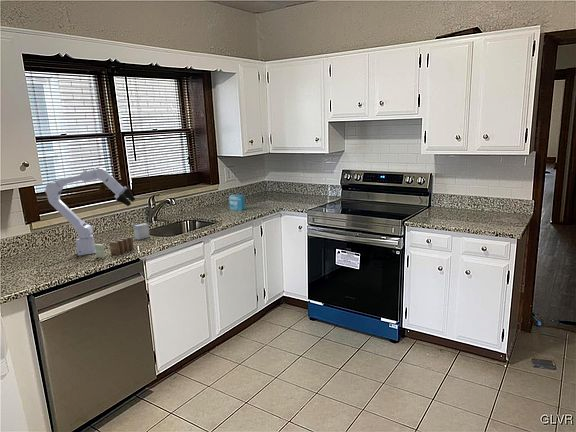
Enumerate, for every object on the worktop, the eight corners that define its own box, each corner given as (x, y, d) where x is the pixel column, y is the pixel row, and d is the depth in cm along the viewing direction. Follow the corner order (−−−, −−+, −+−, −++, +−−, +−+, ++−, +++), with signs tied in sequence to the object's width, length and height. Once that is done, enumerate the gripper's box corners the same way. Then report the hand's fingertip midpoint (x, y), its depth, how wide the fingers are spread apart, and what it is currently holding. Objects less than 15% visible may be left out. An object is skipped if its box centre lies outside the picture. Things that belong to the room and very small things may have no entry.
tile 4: (117, 254, 240) (116, 242, 238) (111, 254, 242) (109, 241, 240) (120, 253, 241) (118, 241, 240) (113, 253, 243) (111, 241, 242)
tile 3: (122, 252, 243) (121, 240, 241) (115, 252, 245) (114, 240, 243) (124, 252, 244) (123, 240, 243) (118, 251, 246) (116, 239, 245)
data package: (229, 209, 354) (228, 195, 351) (232, 208, 358) (231, 194, 355) (242, 210, 348) (241, 195, 346) (245, 209, 352) (244, 194, 350)
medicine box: (145, 236, 279) (144, 223, 277) (149, 237, 276) (148, 223, 274) (134, 238, 273) (133, 225, 271) (138, 239, 270) (137, 226, 268)
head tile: (131, 249, 249) (130, 237, 248) (125, 248, 251) (123, 237, 250) (133, 248, 251) (132, 236, 249) (127, 247, 253) (125, 236, 251)
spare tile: (103, 257, 235) (101, 245, 234) (96, 257, 237) (94, 244, 236) (105, 256, 237) (103, 244, 235) (98, 256, 239) (96, 243, 237)
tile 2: (127, 251, 246) (126, 239, 245) (120, 250, 248) (119, 238, 247) (129, 250, 248) (128, 238, 246) (122, 249, 250) (121, 237, 248)
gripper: (113, 184, 235) (132, 202, 239) (122, 177, 248) (140, 194, 252) (105, 192, 236) (124, 210, 240) (114, 184, 250) (132, 201, 254)
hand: (131, 202), depth 246 cm, fingers open, 7 cm apart
